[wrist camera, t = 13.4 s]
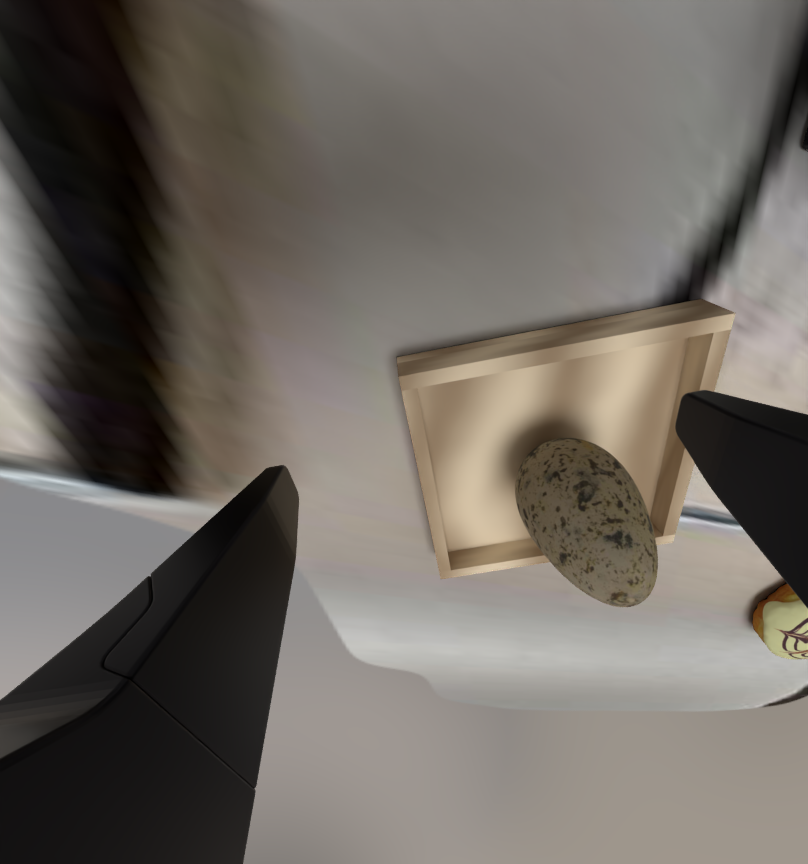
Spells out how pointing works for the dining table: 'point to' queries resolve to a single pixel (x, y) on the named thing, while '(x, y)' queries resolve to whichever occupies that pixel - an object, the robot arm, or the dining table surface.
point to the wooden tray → (554, 420)
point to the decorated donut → (783, 624)
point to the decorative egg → (588, 520)
